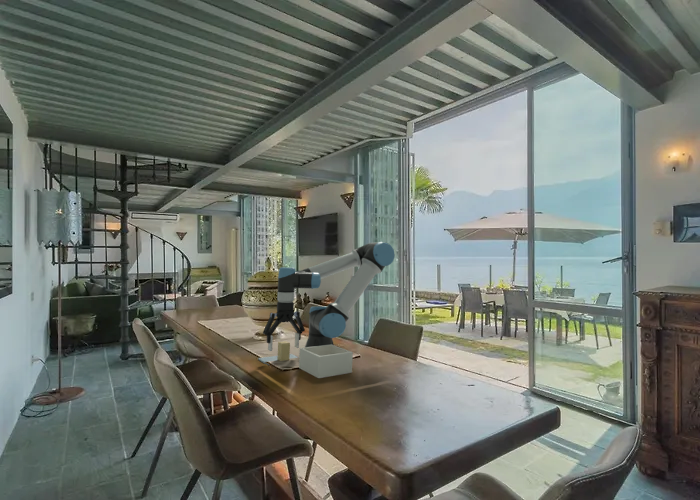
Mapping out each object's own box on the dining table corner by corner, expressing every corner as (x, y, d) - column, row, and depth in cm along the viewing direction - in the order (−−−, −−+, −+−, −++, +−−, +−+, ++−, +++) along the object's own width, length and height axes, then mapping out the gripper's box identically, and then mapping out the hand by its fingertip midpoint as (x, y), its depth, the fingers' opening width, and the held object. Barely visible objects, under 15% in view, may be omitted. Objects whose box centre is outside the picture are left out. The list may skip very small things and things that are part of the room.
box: (330, 364, 170) (331, 344, 170) (351, 374, 157) (352, 352, 157) (298, 369, 161) (299, 348, 161) (318, 380, 148) (319, 356, 148)
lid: (291, 356, 185) (292, 337, 185) (308, 364, 171) (309, 344, 171) (258, 360, 175) (258, 340, 175) (273, 369, 161) (274, 348, 161)
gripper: (305, 299, 184) (303, 344, 183) (256, 301, 170) (254, 349, 169) (313, 301, 178) (311, 347, 177) (263, 303, 164) (261, 353, 163)
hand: (283, 348), depth 173 cm, fingers open, 12 cm apart
